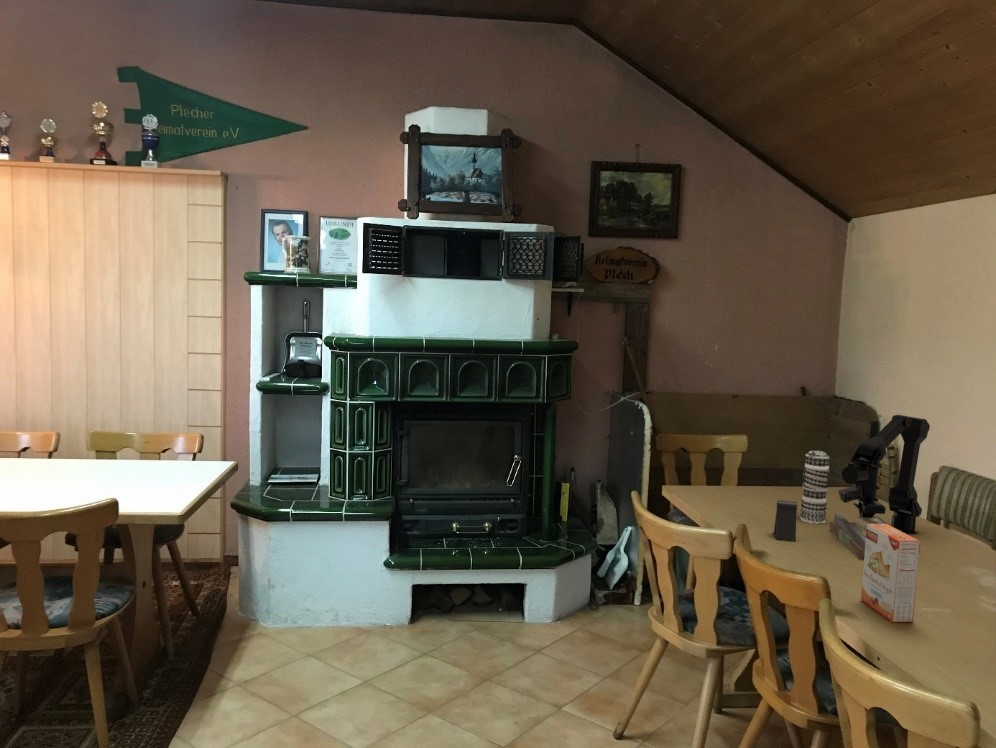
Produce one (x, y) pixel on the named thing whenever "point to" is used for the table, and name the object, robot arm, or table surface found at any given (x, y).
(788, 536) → the phone stand
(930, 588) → the table surface
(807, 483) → the decorative candle
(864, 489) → the robot arm
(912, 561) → the cracker box
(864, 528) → the cream block
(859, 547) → the channel board
